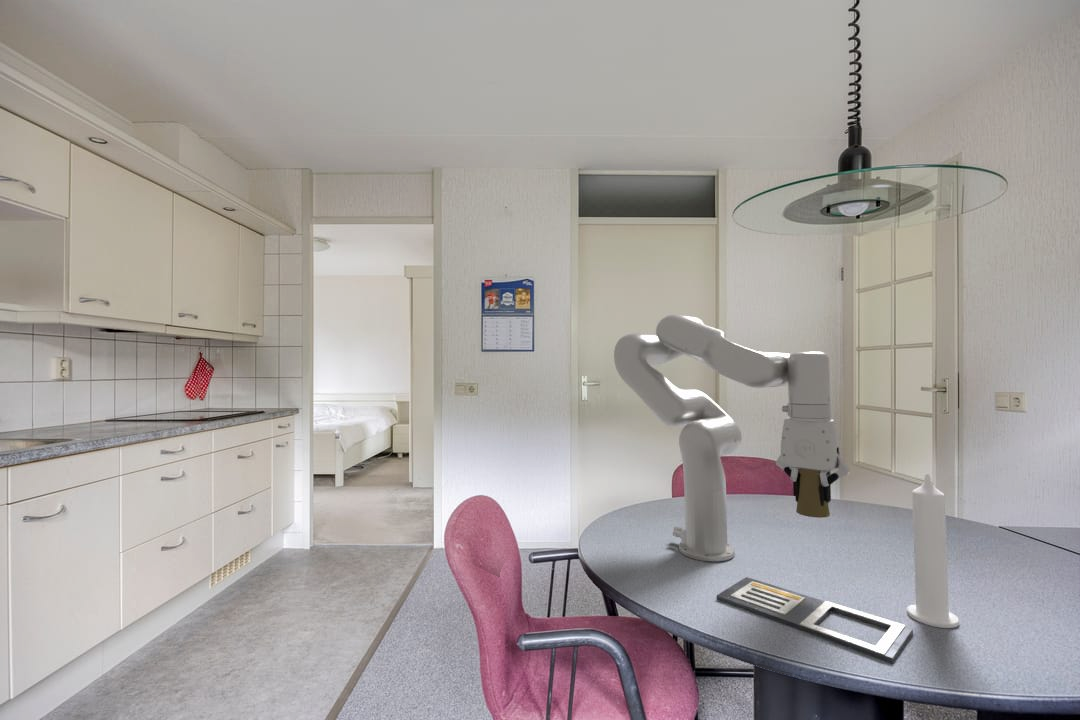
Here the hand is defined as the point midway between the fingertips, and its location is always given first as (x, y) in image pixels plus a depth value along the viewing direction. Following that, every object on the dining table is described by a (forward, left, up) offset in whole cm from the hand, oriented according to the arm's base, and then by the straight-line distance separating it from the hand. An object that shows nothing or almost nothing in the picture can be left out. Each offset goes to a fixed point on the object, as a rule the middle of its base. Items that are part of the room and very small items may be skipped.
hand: (812, 501), depth 100 cm
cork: (0, 0, -2) cm, 2 cm away
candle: (+19, 0, -17) cm, 25 cm away
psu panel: (+4, -14, -16) cm, 22 cm away
